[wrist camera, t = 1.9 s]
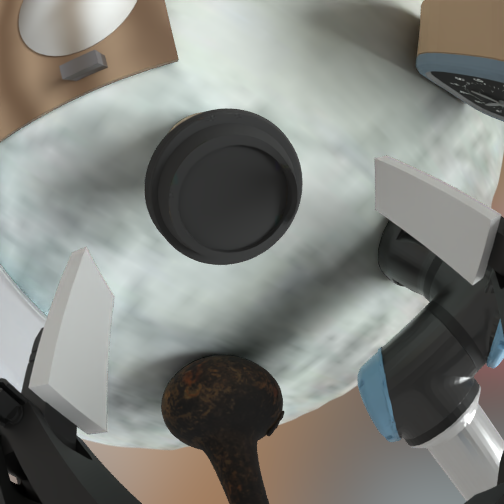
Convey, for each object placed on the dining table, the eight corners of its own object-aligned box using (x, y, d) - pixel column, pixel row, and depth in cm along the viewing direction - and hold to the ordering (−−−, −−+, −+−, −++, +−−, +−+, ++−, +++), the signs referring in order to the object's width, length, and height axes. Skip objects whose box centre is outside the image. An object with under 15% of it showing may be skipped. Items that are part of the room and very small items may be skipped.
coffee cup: (159, 199, 28) (160, 294, 16) (148, 109, 23) (128, 124, 11) (247, 187, 30) (313, 265, 18) (245, 100, 25) (323, 110, 13)
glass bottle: (252, 398, 51) (303, 529, 28) (157, 403, 45) (186, 552, 22) (281, 334, 43) (367, 502, 20) (159, 335, 37) (197, 551, 14)
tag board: (147, -76, 12) (146, -102, 7) (177, 61, 22) (180, 52, 17) (-79, 60, 8) (-105, 63, 3) (-54, 184, 18) (-79, 202, 13)
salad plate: (-8, 231, 23) (-21, 245, 20) (98, 345, 35) (96, 364, 32) (-62, 302, 23) (-70, 316, 20) (24, 383, 35) (21, 399, 32)
